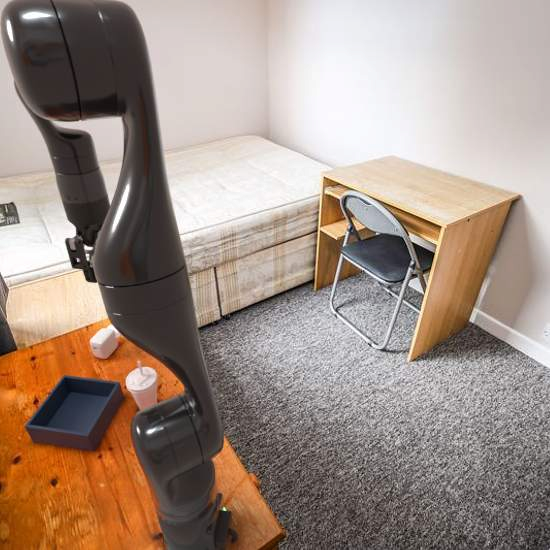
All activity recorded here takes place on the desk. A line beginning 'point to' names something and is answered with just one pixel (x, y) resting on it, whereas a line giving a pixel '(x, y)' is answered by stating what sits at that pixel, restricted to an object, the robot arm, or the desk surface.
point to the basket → (76, 413)
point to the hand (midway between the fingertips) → (104, 269)
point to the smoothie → (143, 386)
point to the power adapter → (104, 342)
